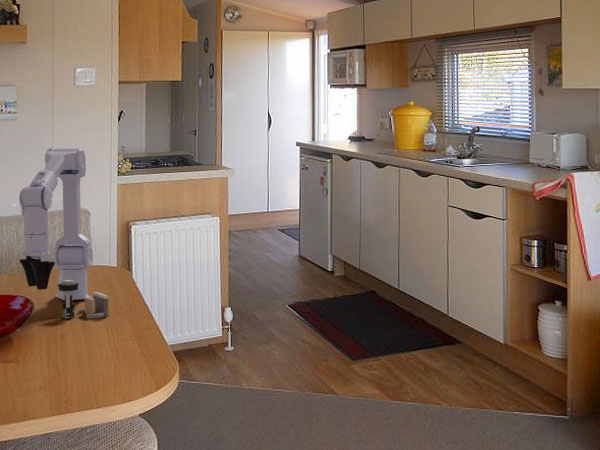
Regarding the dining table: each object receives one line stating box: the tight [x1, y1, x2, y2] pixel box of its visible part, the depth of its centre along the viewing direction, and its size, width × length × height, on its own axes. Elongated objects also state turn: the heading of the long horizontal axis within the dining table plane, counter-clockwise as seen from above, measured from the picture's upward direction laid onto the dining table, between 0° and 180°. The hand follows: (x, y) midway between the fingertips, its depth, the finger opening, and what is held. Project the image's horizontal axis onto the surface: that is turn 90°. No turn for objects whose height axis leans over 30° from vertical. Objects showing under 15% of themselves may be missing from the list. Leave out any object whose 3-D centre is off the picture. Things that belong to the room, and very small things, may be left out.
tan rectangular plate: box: [84, 297, 96, 315], centre depth 193 cm, size 6×1×4 cm, turn 35°
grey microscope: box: [57, 280, 79, 320], centre depth 190 cm, size 7×5×10 cm
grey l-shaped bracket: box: [77, 291, 109, 320], centre depth 194 cm, size 9×6×6 cm, turn 35°
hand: (37, 287), depth 180 cm, fingers open, 7 cm apart
